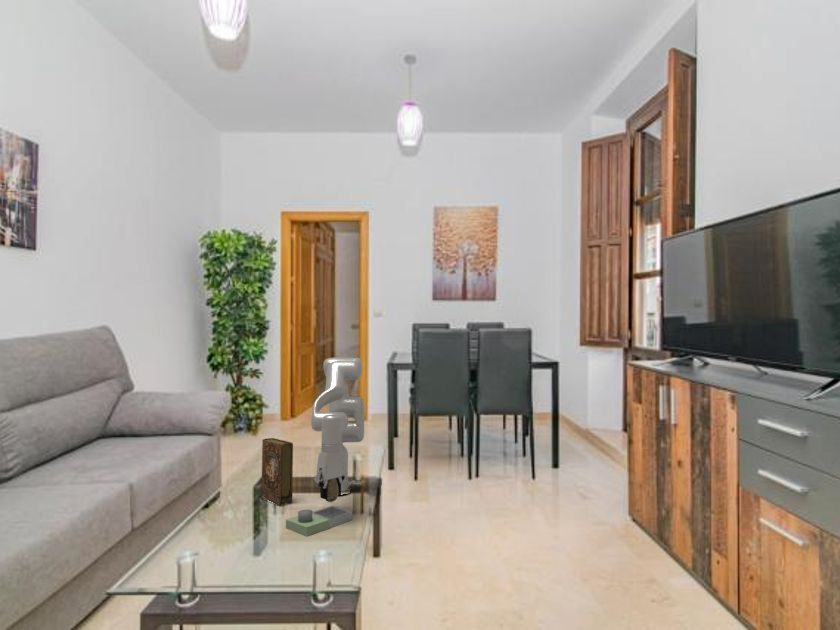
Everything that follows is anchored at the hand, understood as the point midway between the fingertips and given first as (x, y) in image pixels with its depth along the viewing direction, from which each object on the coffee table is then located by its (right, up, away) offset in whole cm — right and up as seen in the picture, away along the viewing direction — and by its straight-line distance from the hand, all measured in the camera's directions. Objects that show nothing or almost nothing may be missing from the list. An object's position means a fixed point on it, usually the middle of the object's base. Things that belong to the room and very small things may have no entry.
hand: (330, 496), depth 193 cm
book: (-27, -10, +23) cm, 37 cm away
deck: (-7, -9, -9) cm, 14 cm away
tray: (0, -9, 0) cm, 9 cm away
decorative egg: (0, -2, 0) cm, 2 cm away
